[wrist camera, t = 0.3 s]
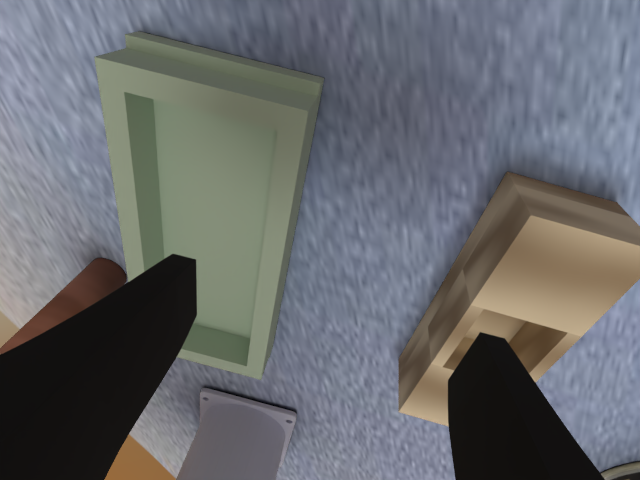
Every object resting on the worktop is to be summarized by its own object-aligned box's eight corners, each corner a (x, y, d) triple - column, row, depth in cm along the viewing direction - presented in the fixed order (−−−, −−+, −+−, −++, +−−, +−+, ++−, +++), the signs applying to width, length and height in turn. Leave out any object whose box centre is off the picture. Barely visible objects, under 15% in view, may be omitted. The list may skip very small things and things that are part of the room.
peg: (128, 290, 25) (51, 380, 20) (94, 281, 25) (8, 368, 20) (124, 263, 24) (40, 352, 18) (88, 254, 24) (-7, 340, 18)
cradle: (272, 346, 26) (260, 384, 24) (162, 317, 26) (138, 351, 24) (324, 77, 16) (310, 97, 13) (139, 31, 16) (92, 41, 13)
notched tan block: (471, 376, 25) (481, 435, 22) (398, 355, 25) (398, 411, 22) (614, 199, 17) (664, 253, 14) (505, 168, 17) (531, 215, 14)
